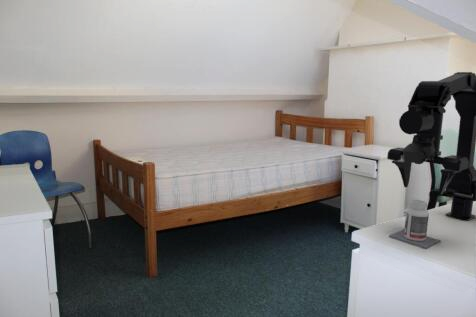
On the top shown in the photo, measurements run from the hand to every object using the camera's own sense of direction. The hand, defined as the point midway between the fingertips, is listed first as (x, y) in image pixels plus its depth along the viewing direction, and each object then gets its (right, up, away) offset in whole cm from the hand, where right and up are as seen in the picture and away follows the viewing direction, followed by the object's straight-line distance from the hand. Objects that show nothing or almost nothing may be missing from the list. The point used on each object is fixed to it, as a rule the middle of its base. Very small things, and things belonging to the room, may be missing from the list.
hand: (422, 190), depth 108 cm
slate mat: (-2, -13, 0) cm, 13 cm away
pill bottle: (-2, -12, 0) cm, 13 cm away
